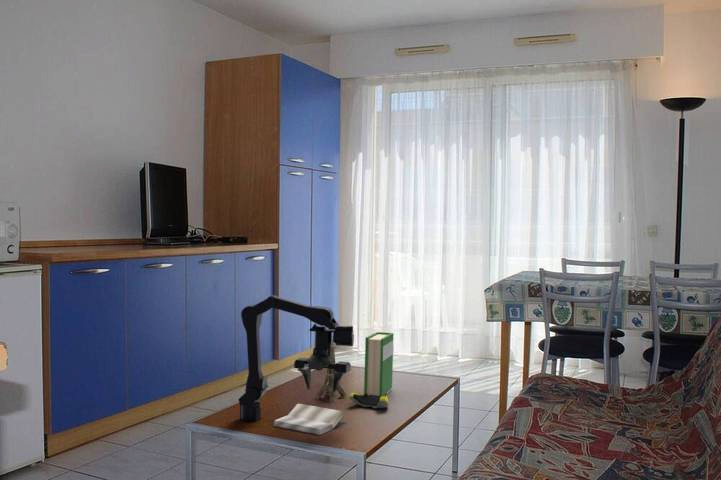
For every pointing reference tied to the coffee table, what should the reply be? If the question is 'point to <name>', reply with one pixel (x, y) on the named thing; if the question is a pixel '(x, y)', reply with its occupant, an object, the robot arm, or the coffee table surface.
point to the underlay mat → (327, 431)
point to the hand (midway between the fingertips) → (321, 390)
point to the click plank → (316, 414)
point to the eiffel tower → (330, 383)
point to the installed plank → (303, 425)
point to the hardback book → (378, 363)
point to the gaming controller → (369, 400)
